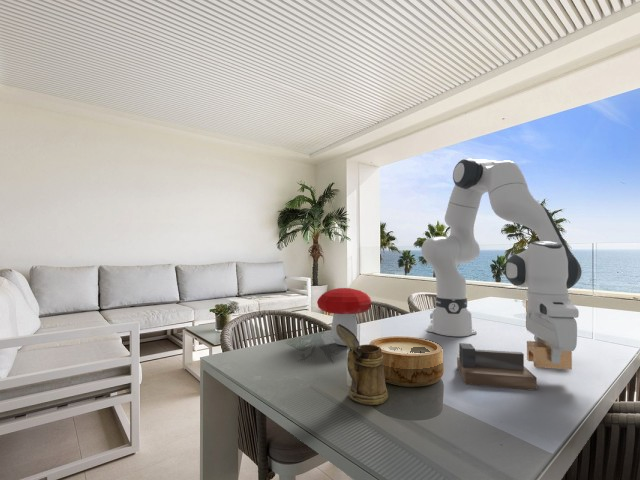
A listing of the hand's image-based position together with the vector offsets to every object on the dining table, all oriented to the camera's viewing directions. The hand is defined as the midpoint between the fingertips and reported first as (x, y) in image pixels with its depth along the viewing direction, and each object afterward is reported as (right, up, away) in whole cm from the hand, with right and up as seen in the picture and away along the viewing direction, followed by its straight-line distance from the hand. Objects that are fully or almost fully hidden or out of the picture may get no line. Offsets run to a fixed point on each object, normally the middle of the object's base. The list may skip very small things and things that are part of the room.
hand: (548, 358), depth 86 cm
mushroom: (-50, -7, +33) cm, 60 cm away
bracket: (-13, -6, +3) cm, 14 cm away
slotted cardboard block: (0, -2, 0) cm, 2 cm away
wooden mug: (-49, -6, -10) cm, 51 cm away
